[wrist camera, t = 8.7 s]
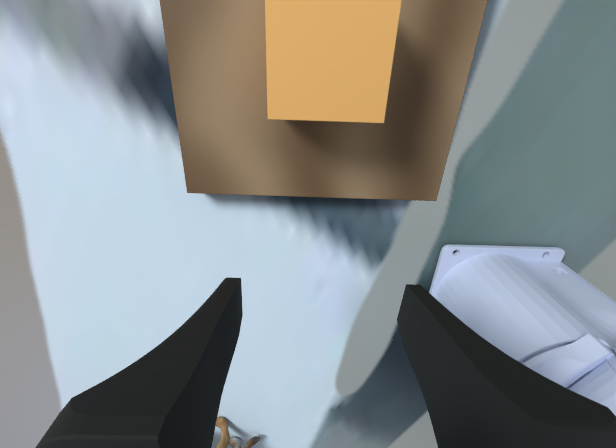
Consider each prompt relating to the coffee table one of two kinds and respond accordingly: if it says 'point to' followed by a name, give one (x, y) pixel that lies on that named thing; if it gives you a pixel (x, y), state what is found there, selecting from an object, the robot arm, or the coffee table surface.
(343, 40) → the tan rounded cube
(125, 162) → the coffee table surface
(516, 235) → the coffee table surface
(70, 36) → the coffee table surface
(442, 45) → the walnut board
